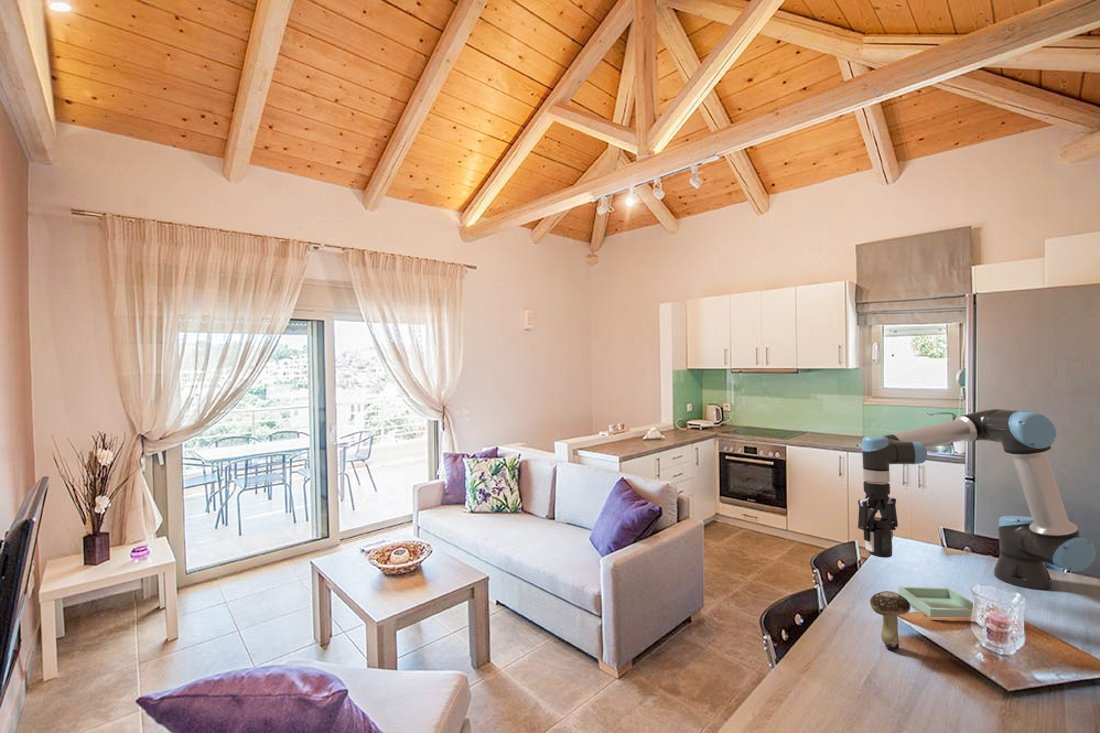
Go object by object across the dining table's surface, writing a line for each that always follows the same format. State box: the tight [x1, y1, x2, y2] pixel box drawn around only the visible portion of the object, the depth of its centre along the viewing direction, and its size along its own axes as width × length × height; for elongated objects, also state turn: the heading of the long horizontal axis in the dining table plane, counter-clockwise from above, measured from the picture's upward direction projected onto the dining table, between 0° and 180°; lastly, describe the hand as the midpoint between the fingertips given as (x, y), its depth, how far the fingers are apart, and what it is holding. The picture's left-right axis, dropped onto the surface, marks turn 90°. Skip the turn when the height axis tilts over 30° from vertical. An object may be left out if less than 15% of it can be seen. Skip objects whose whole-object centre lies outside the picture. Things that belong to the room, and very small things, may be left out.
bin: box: [897, 585, 974, 617], centre depth 155 cm, size 16×16×4 cm
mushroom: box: [869, 590, 911, 652], centre depth 133 cm, size 9×9×15 cm
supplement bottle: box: [867, 516, 893, 559], centre depth 163 cm, size 7×7×12 cm
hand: (878, 549), depth 164 cm, fingers closed on supplement bottle, 7 cm apart
